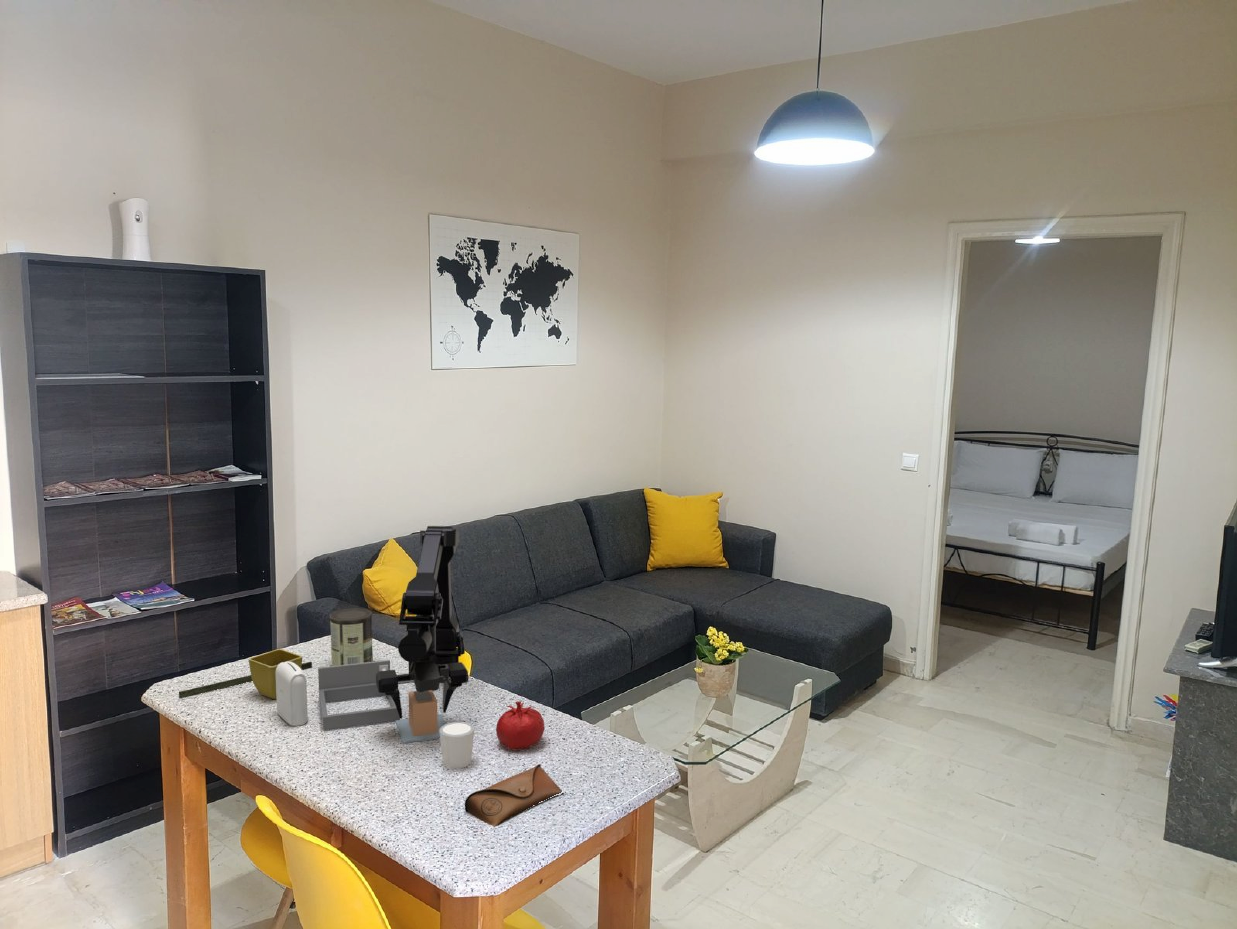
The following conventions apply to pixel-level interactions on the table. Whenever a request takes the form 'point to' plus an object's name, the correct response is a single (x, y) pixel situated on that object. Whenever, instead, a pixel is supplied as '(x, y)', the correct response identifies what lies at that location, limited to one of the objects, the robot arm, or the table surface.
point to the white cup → (456, 744)
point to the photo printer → (291, 693)
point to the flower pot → (270, 669)
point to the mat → (409, 737)
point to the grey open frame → (353, 694)
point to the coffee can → (351, 636)
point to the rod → (225, 684)
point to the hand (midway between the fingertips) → (422, 715)
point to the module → (423, 712)
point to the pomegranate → (520, 727)
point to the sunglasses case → (511, 796)
